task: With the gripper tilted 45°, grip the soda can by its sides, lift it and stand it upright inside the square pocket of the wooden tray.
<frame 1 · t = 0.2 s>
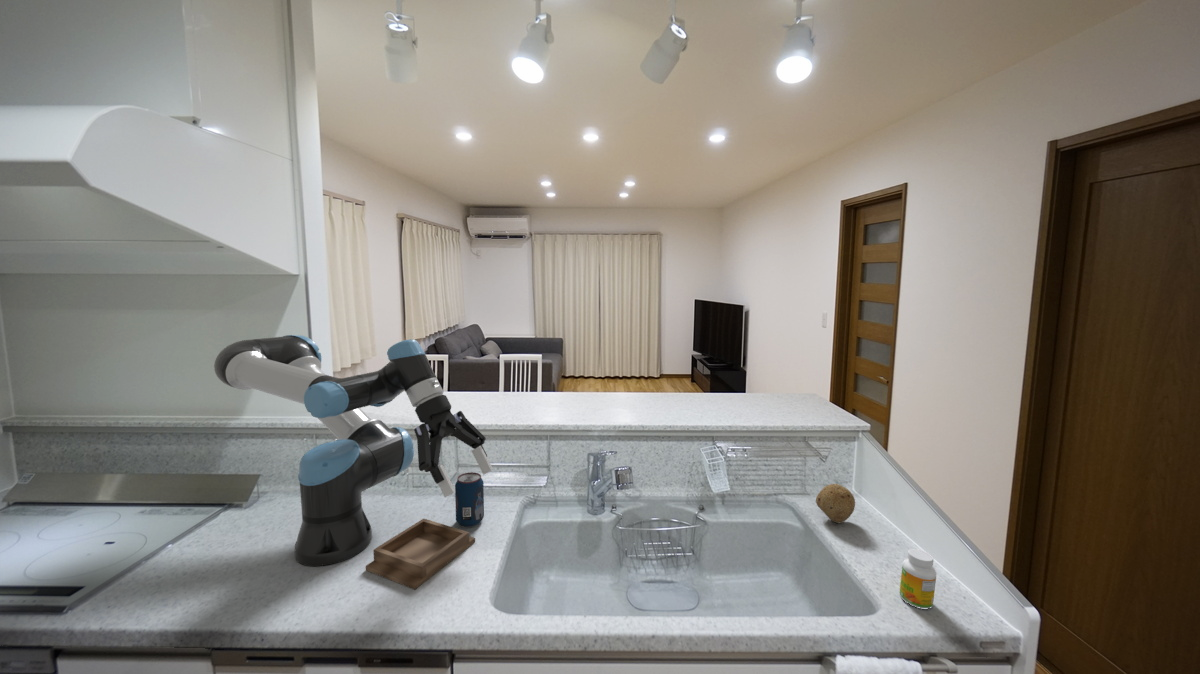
hand: (470, 482, 100), 15 cm above the worktop, tool tilted 35°, fingers open, 13 cm apart
soda can: (470, 522, 112), on the worktop
wooden tray: (423, 555, 98), on the worktop
supplement bottle: (915, 601, 86), on the worktop
brown rounded lump: (833, 521, 115), on the worktop
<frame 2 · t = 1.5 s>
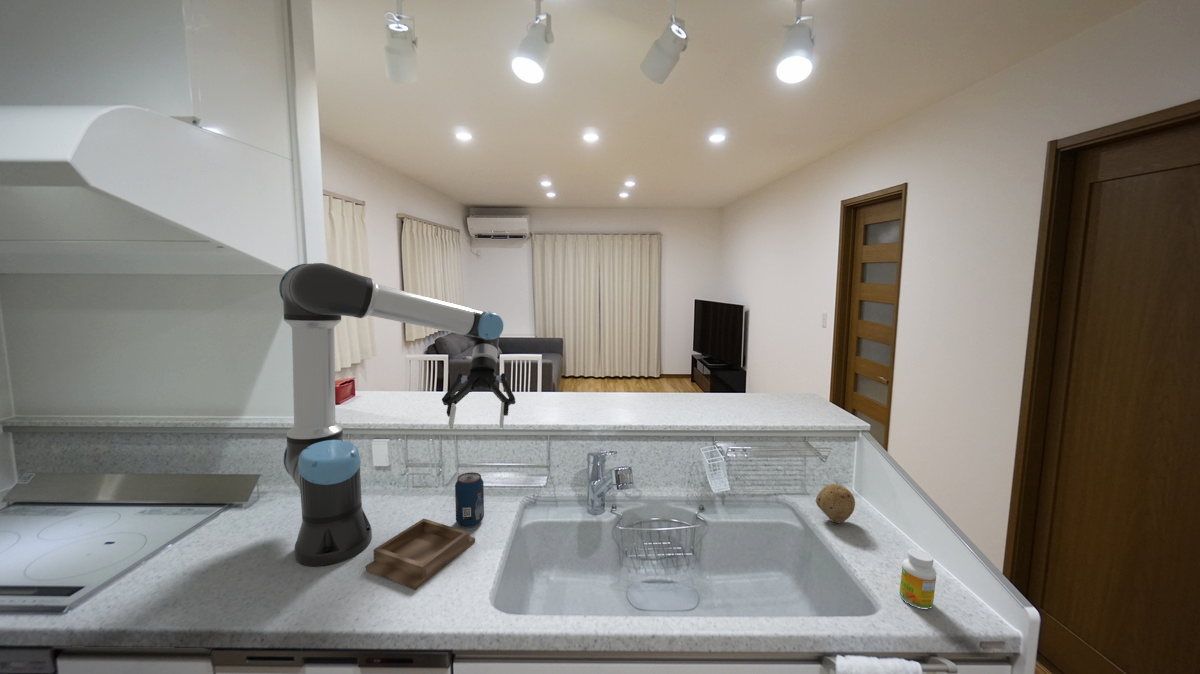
hand: (476, 426, 119), 22 cm above the worktop, tool tilted 45°, fingers open, 13 cm apart
nothing on the worktop moved.
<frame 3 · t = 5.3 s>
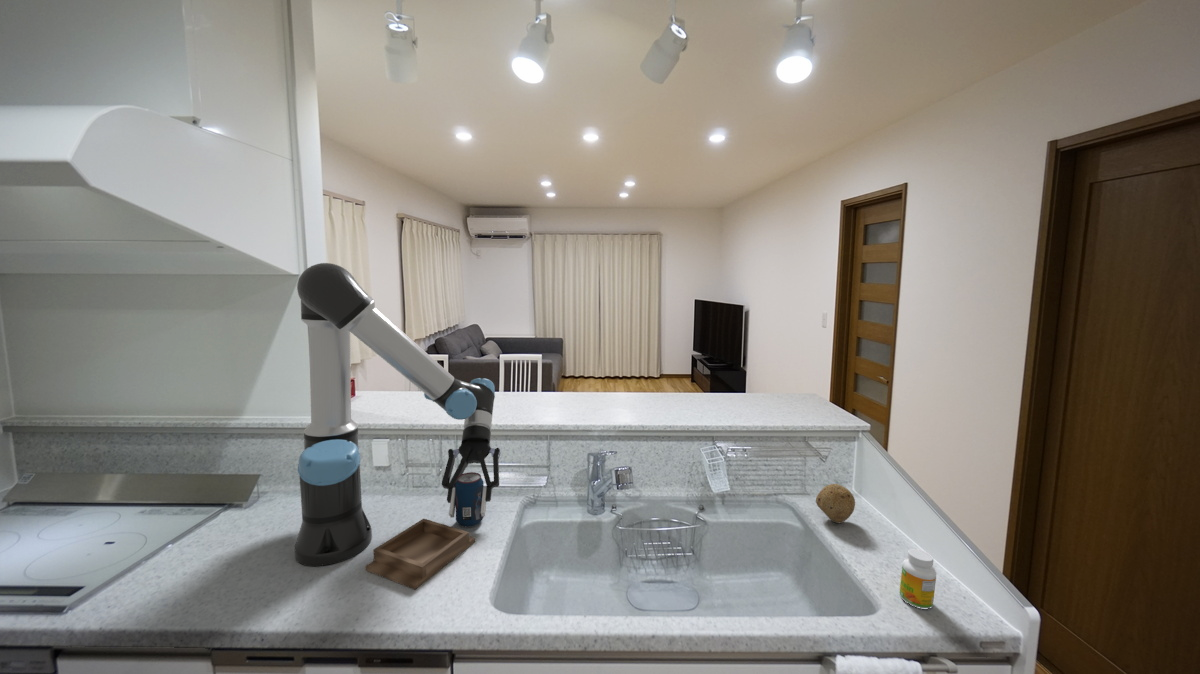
hand: (467, 515, 108), 4 cm above the worktop, tool tilted 45°, fingers closed on soda can, 7 cm apart
soda can: (470, 522, 112), on the worktop, touching gripper
everything else where it was.
when the fingers open (6 cm above the worktop, at t = 10.7 s): soda can drops 1 cm, resting on wooden tray.
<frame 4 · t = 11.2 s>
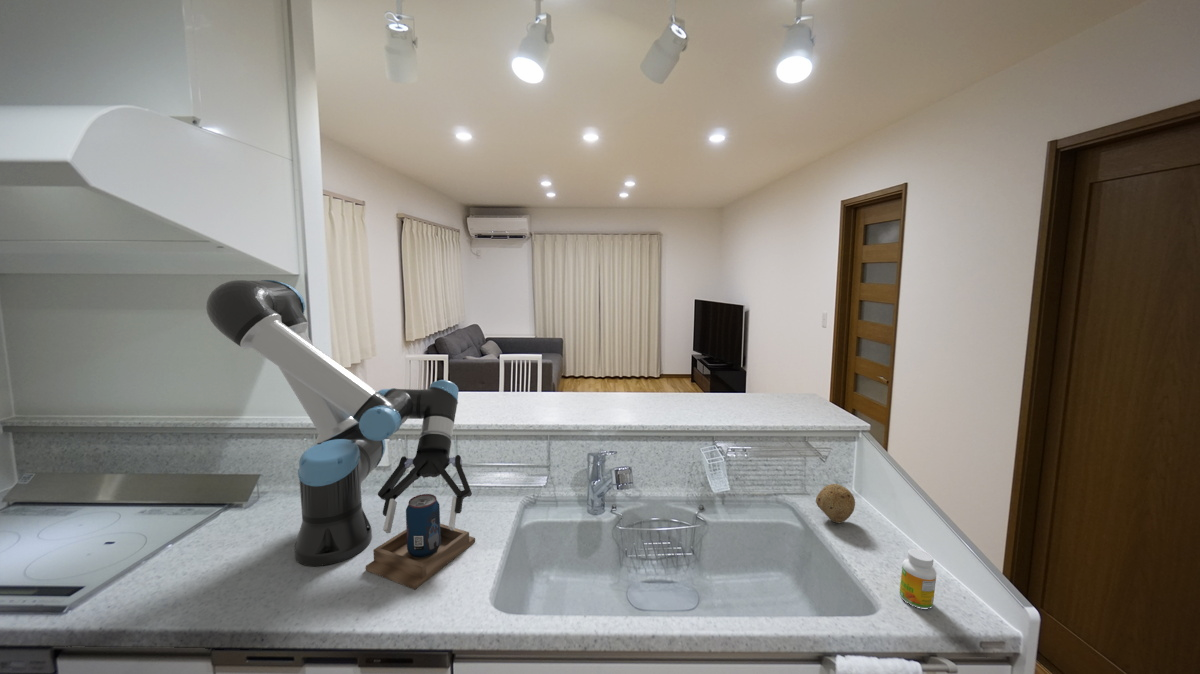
hand: (419, 530, 94), 7 cm above the worktop, tool tilted 45°, fingers open, 13 cm apart
soda can: (424, 551, 98), point 1 cm above the worktop, touching wooden tray
everything else where it was.
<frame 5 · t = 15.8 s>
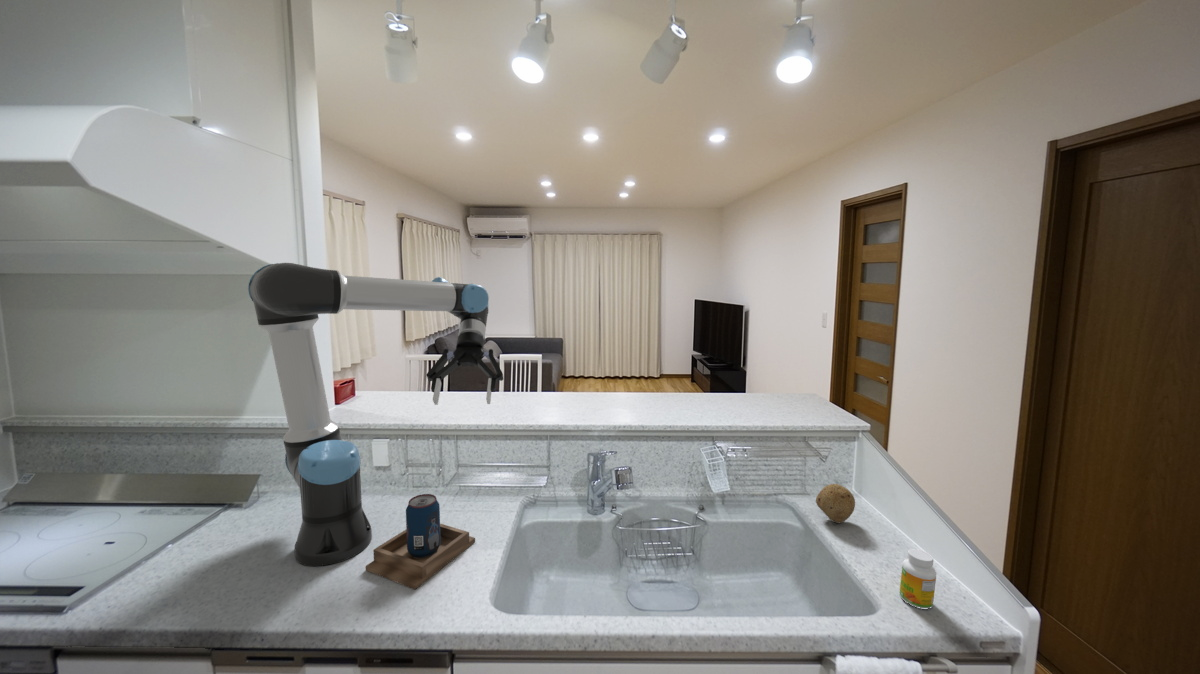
hand: (461, 401, 115), 30 cm above the worktop, tool tilted 45°, fingers open, 13 cm apart
nothing on the worktop moved.
at the end: soda can inside the target area on the wooden tray (0.2 cm from its centre), point 0.8 cm above the wooden tray's base; soda can tilted 0°; the gripper is holding nothing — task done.
